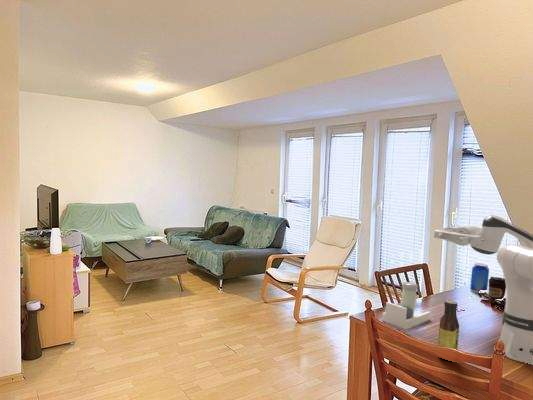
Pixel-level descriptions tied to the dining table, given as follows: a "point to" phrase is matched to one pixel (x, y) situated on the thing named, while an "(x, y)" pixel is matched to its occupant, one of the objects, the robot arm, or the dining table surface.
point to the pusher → (408, 312)
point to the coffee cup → (496, 288)
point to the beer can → (479, 277)
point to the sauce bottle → (449, 326)
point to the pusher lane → (402, 316)
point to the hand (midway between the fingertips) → (450, 238)
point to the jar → (409, 295)
